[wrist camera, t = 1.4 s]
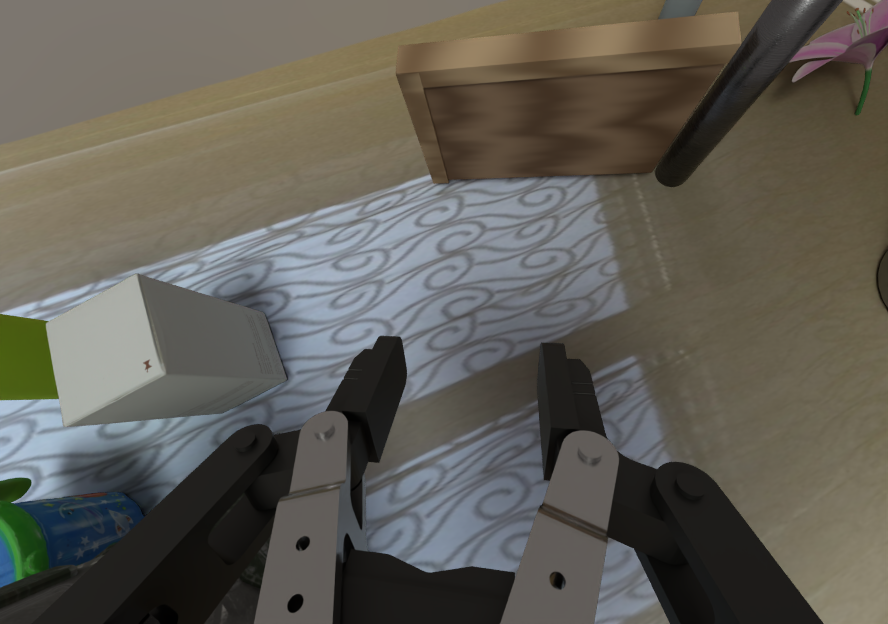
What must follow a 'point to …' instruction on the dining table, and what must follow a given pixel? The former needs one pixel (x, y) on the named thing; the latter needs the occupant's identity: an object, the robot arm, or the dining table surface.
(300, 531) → the robot arm
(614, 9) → the dining table surface
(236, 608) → the canister
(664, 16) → the stop post
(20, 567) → the snack cup
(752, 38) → the gatepost
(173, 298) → the supplement box
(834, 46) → the lily
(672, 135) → the gate
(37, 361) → the soap dispenser
